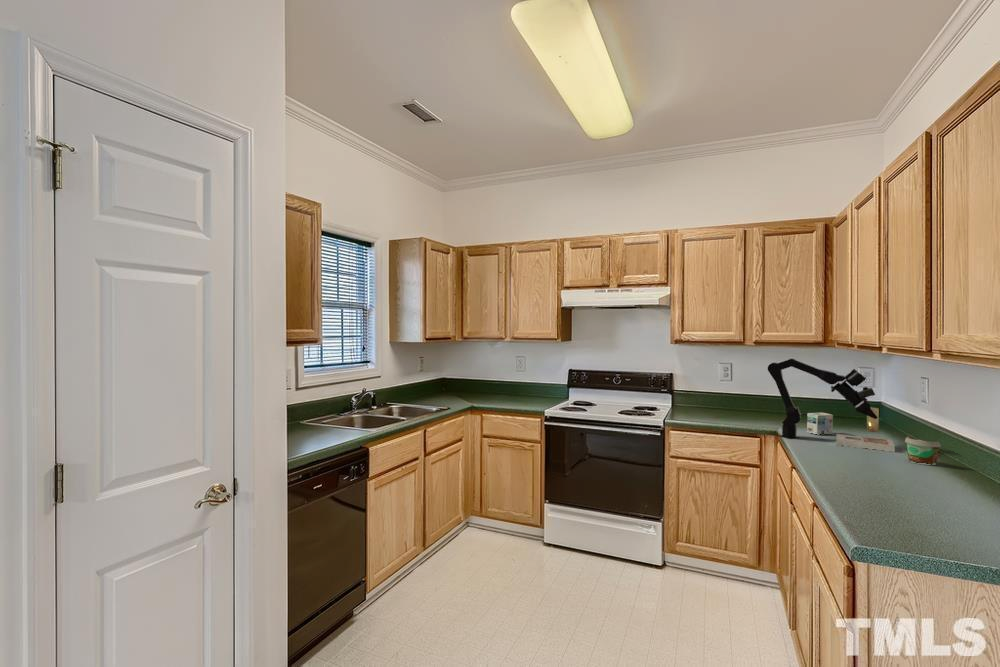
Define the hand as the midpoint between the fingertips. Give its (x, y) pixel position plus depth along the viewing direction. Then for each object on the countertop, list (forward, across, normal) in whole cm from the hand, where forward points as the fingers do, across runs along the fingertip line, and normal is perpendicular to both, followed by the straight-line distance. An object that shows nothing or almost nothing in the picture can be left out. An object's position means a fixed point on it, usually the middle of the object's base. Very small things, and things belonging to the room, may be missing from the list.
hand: (876, 417), depth 237 cm
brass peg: (+4, 0, +6) cm, 7 cm away
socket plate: (+7, 0, +13) cm, 15 cm away
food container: (+19, -24, +1) cm, 31 cm away
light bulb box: (-6, +20, +26) cm, 34 cm away
